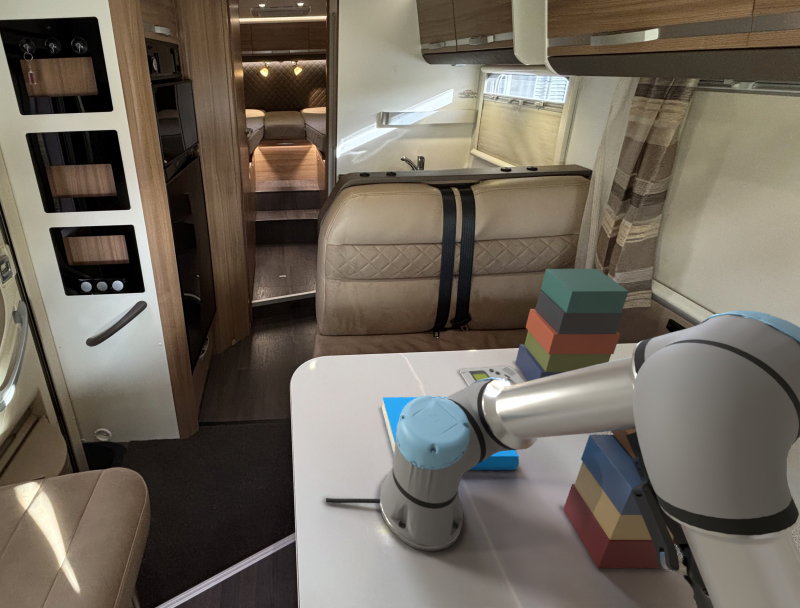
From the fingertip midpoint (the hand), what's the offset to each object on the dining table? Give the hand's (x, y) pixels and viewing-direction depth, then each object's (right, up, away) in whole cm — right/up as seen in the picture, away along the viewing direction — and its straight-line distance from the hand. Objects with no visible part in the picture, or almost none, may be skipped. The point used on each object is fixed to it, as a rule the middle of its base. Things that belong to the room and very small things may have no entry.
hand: (649, 433), depth 68 cm
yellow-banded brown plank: (0, -3, +3) cm, 4 cm away
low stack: (0, -23, +9) cm, 25 cm away
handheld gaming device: (-3, -8, +45) cm, 46 cm away
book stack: (+14, -8, +46) cm, 49 cm away
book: (-23, -15, +29) cm, 40 cm away
